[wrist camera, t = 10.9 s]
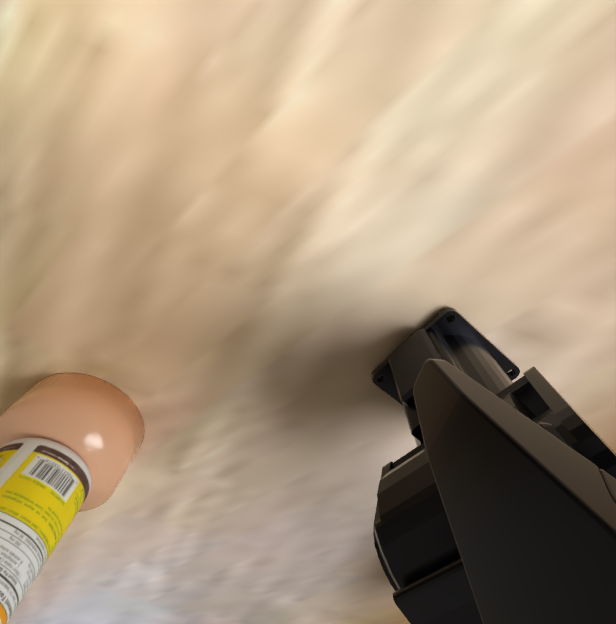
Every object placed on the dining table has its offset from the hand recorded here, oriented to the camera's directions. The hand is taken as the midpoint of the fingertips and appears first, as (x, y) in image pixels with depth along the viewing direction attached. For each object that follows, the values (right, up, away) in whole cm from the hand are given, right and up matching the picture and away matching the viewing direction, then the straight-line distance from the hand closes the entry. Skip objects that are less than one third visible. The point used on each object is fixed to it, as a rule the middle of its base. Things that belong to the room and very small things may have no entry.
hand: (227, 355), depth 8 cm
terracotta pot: (-14, -7, +18) cm, 23 cm away
